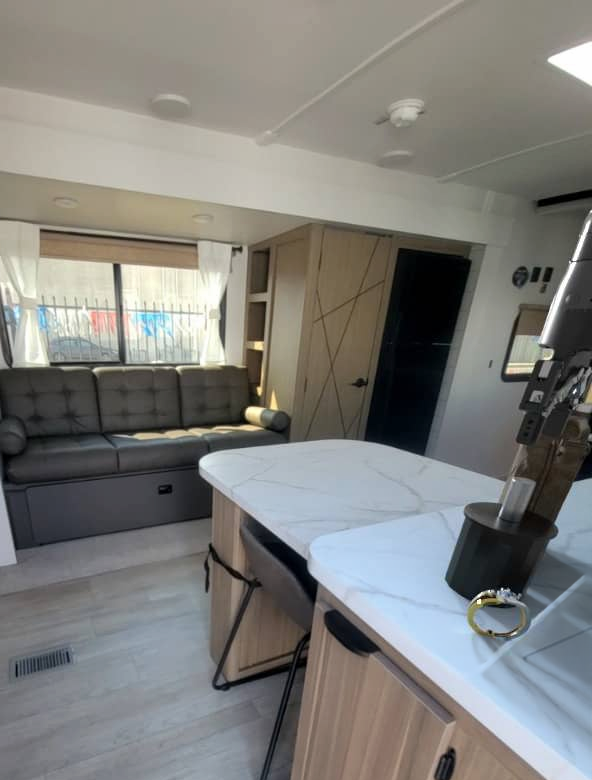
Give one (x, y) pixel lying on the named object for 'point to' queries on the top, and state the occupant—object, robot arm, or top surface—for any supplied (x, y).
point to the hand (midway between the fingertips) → (538, 440)
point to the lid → (512, 515)
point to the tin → (492, 563)
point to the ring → (502, 597)
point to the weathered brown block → (551, 467)
